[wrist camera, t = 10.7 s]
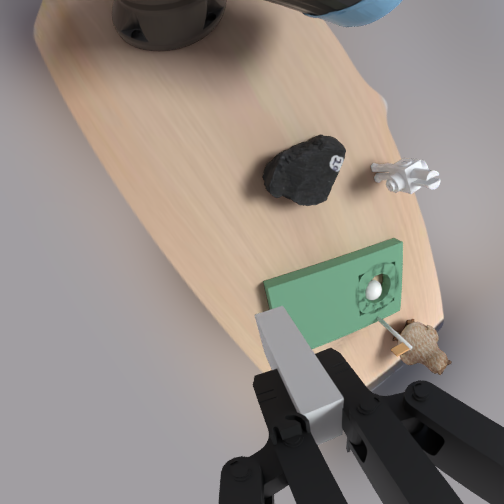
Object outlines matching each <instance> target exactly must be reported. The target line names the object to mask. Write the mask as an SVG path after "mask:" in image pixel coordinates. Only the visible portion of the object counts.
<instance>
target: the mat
mask: <svg viewBox="0 0 504 504" xmlns="http://www.w3.org/2000/svg"><path fill="white" fill-rule="evenodd" d="M402 265H403V242H402V241H400V240H397V239H395V238H392V239H389V240H387V241H384V242H381V243H378V244H375V245H372V246H369V247H366V248H364V249H361V250H358V251H355V252H352V253H349V254H346V255H343V256H340V257H337V258H334V259H331V260H328V261H325V262H322V263H319V264H316V265H313V266H310V267H307V268H304V269H300V270H297V271H294V272H291V273H288V274H285V275H282V276H278V277H275V278H272V279H269V280H266V281H263V282H264V287H265V291H266V295H267V300H268V304H269V309H270V310H271V309H274V308H277V307H280V306H283V307H284V308H285V310H286V311H287V313H288V314H289V316H290V317H291V319H292V320H293V322H294V323H295V325H296V326H297V328H298V329H299V331H300V333H301V334H302V336H303V337H304V339H305V340H306V342H307V343H308V345H309V346H310V348H311V349H314V348H316V347H319V346H321V345H324V344H326V343H329V342H331V341H334V340H336V339H339V338H341V337H343V336H346V335H348V334H350V333H353V332H355V331H357V330H360V329H362V328H364V327H366V326H368V325H371V324H373V323H375V322H377V321H379V322H380V323H381V324H382V325H383V326H384V327H385V328H387V329H388V330H389V331H390V332H391V333H392V334H393V335H394V336H395V337H396V338H397V339H398V340H399V341H401V342H402V343H401V344H399V345H397V346H396V347H394V348H392V349H391V351H392V352H393V353H394V354H395V355H396V356H399V355H401V354H403V353H405V352H406V351H408V350H411V349H412V346H411V345H410V344H409V343H408V342H407V341H406V340H405V339H404V338H403V337H401V336H400V335H399V334H398V333H397V332H396V331H395V330H394V329H393V328H391V327H390V326H389V325H388V324H387V323H386V322H385V321H384V320H383V318H386V317H388V316H390V315H392V314H394V313H396V312H398V311H400V306H401V291H402ZM381 273H382V274H383V282H382V285H381V287H382V292H381V295H380V296H379V297H378V298H377V299H375V300H368V299H366V298H365V290H366V288H367V286H368V283H369V282H370V281H371V280H372V279H373V278H374V277H375V276H376V275H379V274H381Z"/></svg>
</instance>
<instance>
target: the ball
mask: <svg viewBox="0 0 504 504" xmlns="http://www.w3.org/2000/svg"><path fill="white" fill-rule="evenodd" d="M381 292H382V287H381V284H380V283H379V282H378V281H376V280H371V281H370V282H369V283H368V286H367V288H366V290H365V298H366V299H368V300H375V299H377V298H378V297H379V296H380V295H381Z"/></svg>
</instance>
